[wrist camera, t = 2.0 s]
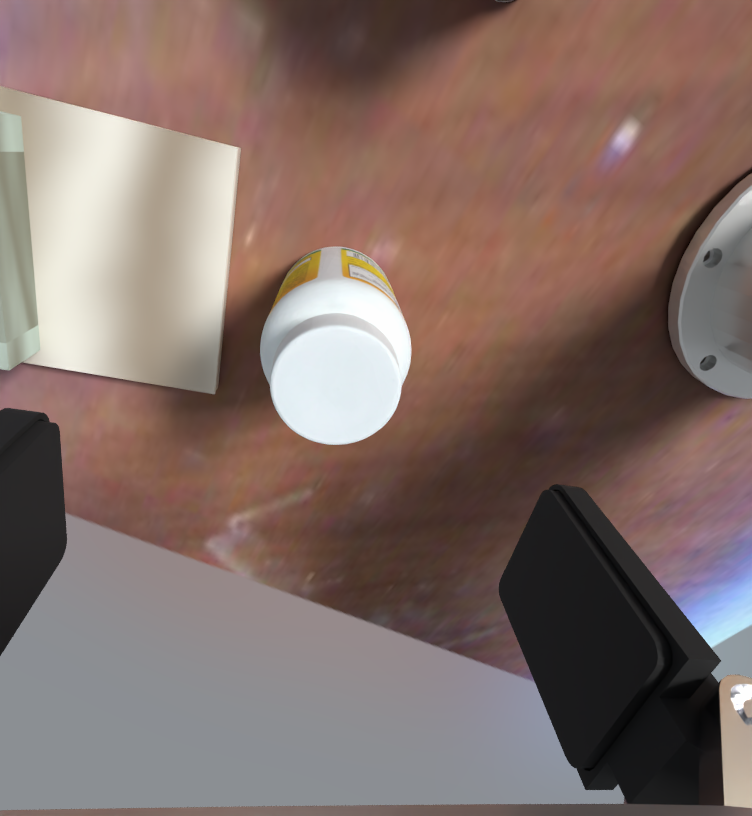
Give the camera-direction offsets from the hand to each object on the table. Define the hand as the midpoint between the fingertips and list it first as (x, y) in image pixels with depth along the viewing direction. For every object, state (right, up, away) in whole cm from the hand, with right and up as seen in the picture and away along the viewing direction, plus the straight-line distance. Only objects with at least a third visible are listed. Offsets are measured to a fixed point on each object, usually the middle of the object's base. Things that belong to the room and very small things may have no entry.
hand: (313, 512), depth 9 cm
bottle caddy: (-14, +9, +11) cm, 20 cm away
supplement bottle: (-1, +7, +14) cm, 15 cm away
